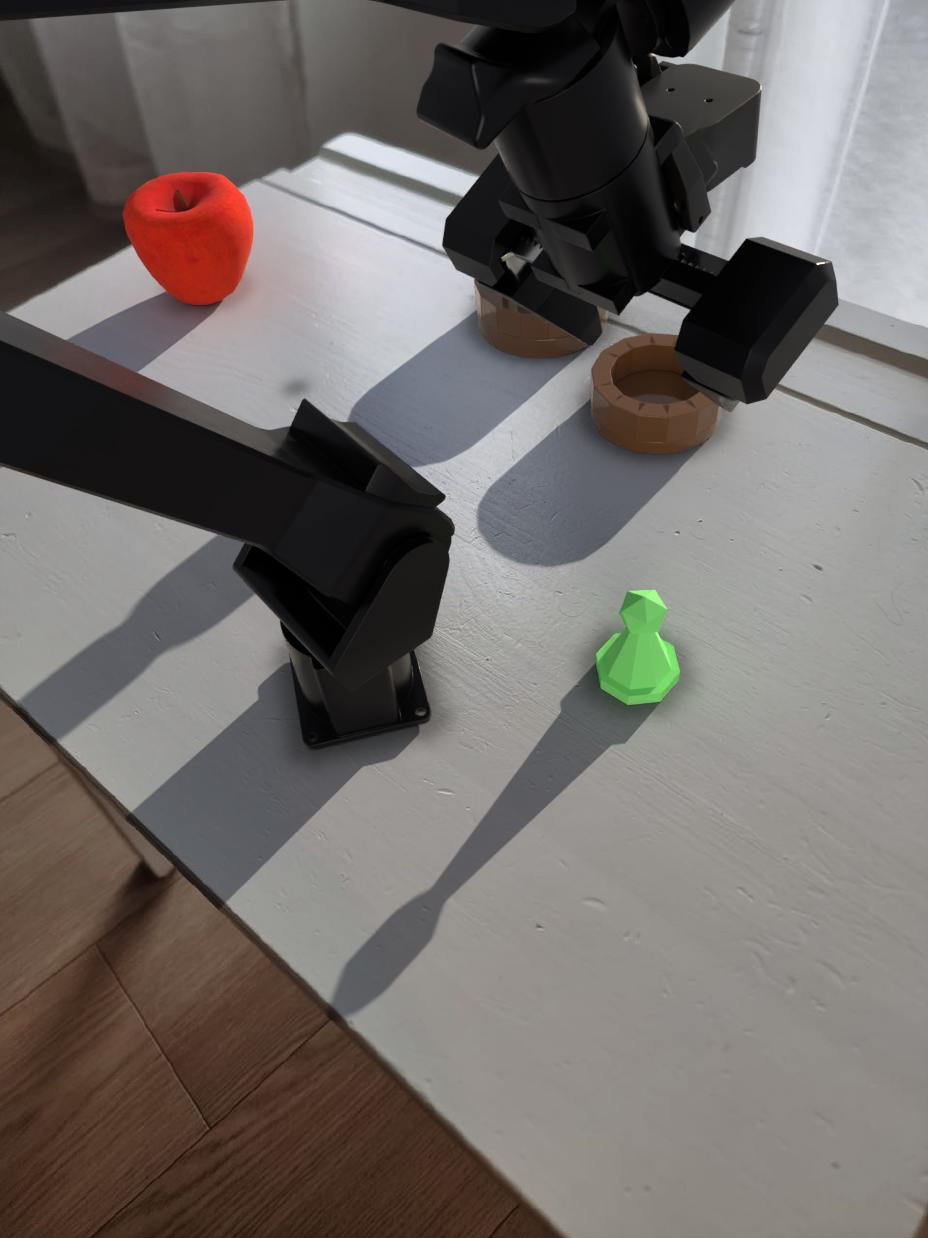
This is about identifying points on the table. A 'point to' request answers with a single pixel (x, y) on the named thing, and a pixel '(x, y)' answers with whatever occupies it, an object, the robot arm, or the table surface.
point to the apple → (191, 234)
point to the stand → (522, 328)
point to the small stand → (648, 398)
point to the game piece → (638, 653)
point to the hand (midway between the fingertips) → (661, 369)
